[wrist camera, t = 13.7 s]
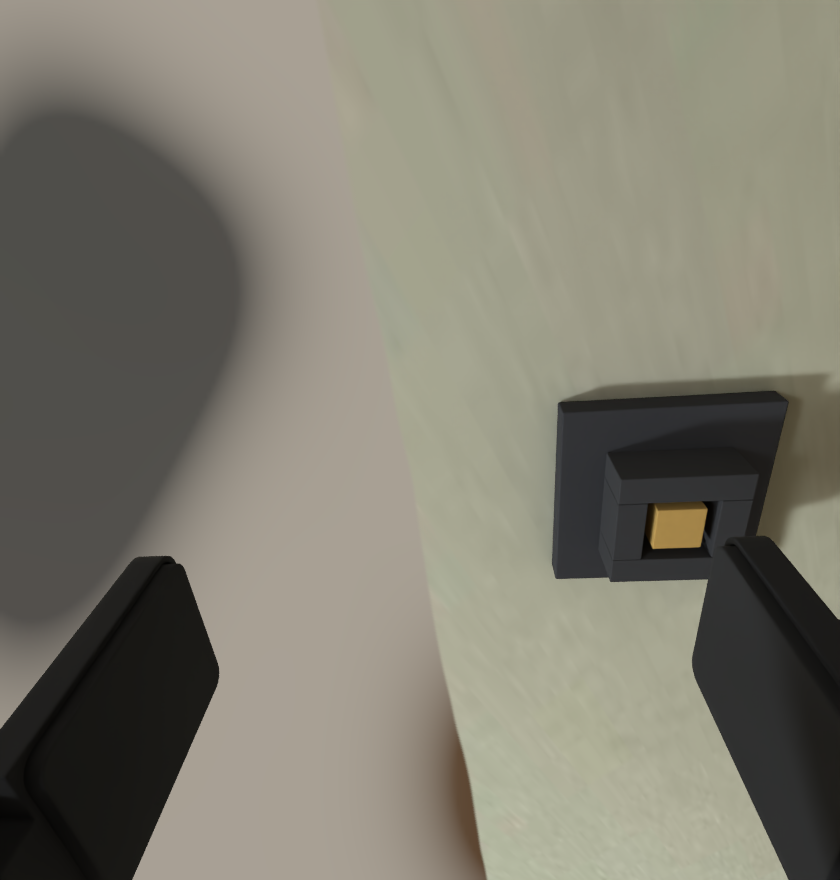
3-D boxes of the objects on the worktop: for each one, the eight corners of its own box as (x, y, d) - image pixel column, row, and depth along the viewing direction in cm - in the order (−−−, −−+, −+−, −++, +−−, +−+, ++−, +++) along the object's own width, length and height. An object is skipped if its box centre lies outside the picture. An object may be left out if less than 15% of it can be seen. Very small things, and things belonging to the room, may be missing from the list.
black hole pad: (606, 452, 32) (620, 479, 29) (733, 446, 31) (760, 473, 28) (597, 549, 35) (610, 582, 32) (713, 545, 34) (735, 578, 32)
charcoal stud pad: (557, 401, 32) (573, 437, 28) (775, 390, 31) (823, 425, 27) (551, 564, 37) (563, 613, 33) (736, 558, 36) (771, 608, 32)
